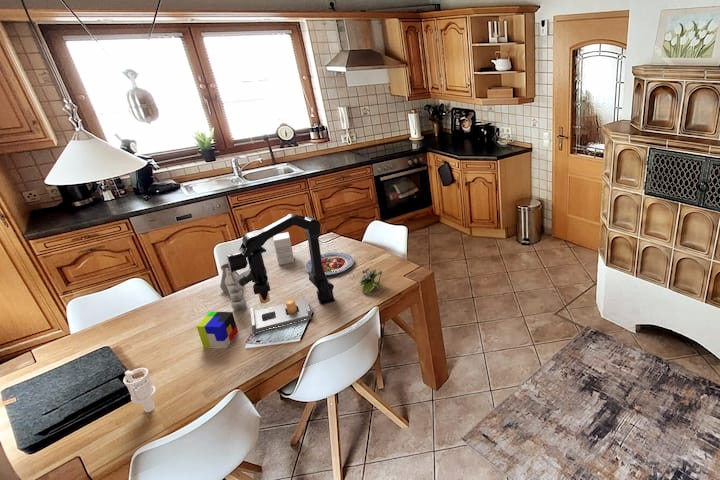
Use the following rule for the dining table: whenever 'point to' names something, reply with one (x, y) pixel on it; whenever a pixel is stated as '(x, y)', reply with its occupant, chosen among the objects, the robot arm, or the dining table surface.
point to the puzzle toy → (217, 329)
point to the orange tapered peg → (291, 307)
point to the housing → (279, 315)
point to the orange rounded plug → (264, 300)
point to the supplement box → (283, 248)
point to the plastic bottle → (235, 290)
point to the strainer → (140, 389)
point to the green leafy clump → (369, 280)
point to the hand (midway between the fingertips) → (264, 297)
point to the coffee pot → (223, 285)
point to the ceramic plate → (333, 262)
